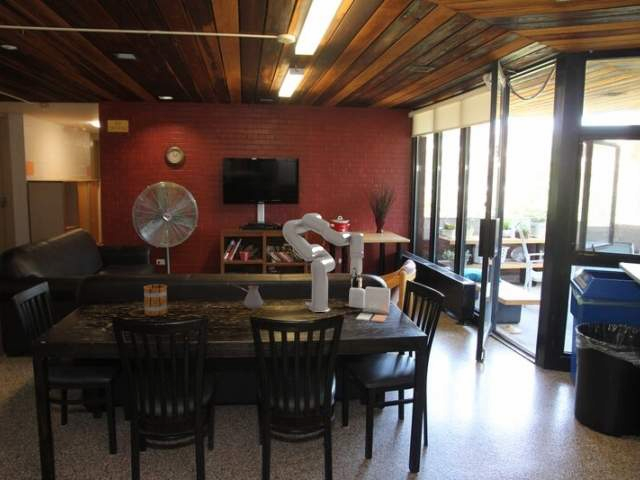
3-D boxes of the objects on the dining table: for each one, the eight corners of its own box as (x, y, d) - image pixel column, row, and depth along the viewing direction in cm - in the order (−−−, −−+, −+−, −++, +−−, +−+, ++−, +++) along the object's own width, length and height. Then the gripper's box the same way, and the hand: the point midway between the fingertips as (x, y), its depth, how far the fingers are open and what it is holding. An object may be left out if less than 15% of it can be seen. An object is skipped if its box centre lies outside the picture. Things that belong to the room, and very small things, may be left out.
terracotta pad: (370, 321, 273) (370, 319, 273) (375, 315, 285) (375, 314, 285) (383, 322, 271) (383, 321, 271) (387, 317, 283) (387, 315, 283)
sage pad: (355, 319, 276) (355, 318, 276) (360, 314, 287) (360, 312, 287) (368, 320, 274) (368, 319, 274) (372, 315, 285) (372, 314, 285)
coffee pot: (264, 305, 303) (264, 281, 301) (260, 310, 292) (261, 285, 290) (229, 304, 304) (229, 280, 302) (225, 309, 293) (225, 284, 291)
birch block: (351, 287, 278) (351, 278, 278) (353, 286, 283) (353, 277, 283) (359, 288, 277) (359, 279, 276) (361, 286, 282) (362, 277, 281)
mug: (162, 316, 275) (161, 289, 273) (139, 314, 276) (138, 288, 274) (176, 307, 294) (176, 282, 292) (154, 306, 296) (154, 281, 294)
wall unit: (362, 312, 291) (363, 288, 289) (365, 309, 299) (366, 285, 297) (389, 315, 286) (390, 290, 285) (391, 312, 294) (392, 288, 292)
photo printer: (365, 307, 303) (366, 287, 302) (363, 309, 299) (364, 289, 298) (350, 305, 307) (350, 286, 306) (347, 307, 303) (348, 287, 302)
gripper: (354, 252, 287) (353, 283, 289) (346, 256, 271) (346, 289, 273) (366, 253, 285) (366, 284, 287) (359, 257, 269) (359, 289, 271)
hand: (356, 286), depth 280 cm, fingers closed on birch block, 5 cm apart
